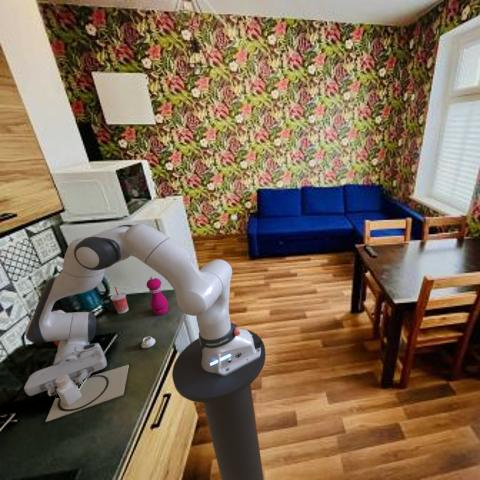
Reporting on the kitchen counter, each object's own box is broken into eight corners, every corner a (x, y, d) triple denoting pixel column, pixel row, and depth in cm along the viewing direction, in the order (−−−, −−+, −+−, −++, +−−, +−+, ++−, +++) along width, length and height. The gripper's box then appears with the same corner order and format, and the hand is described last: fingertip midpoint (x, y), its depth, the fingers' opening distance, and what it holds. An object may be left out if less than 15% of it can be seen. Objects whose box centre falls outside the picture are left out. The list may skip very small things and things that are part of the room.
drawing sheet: (129, 365, 102) (128, 364, 102) (123, 395, 90) (123, 393, 90) (61, 386, 93) (60, 385, 93) (45, 422, 82) (45, 421, 82)
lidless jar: (153, 338, 115) (140, 344, 112) (152, 332, 114) (138, 338, 111) (157, 344, 112) (143, 350, 109) (155, 339, 111) (141, 345, 108)
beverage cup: (121, 306, 136) (113, 283, 130) (133, 307, 135) (125, 283, 130) (112, 314, 130) (103, 290, 125) (124, 314, 130) (116, 290, 124)
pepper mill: (158, 317, 128) (148, 281, 120) (150, 312, 131) (139, 277, 124) (172, 309, 134) (163, 275, 126) (164, 305, 137) (155, 271, 129)
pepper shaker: (75, 391, 90) (65, 371, 86) (83, 396, 88) (73, 375, 85) (61, 402, 86) (50, 381, 83) (68, 406, 85) (57, 385, 81)
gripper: (26, 367, 88) (14, 399, 78) (103, 341, 99) (102, 366, 88) (34, 380, 90) (23, 413, 80) (108, 354, 101) (107, 379, 91)
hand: (65, 388), depth 84 cm, fingers closed on pepper shaker, 5 cm apart
